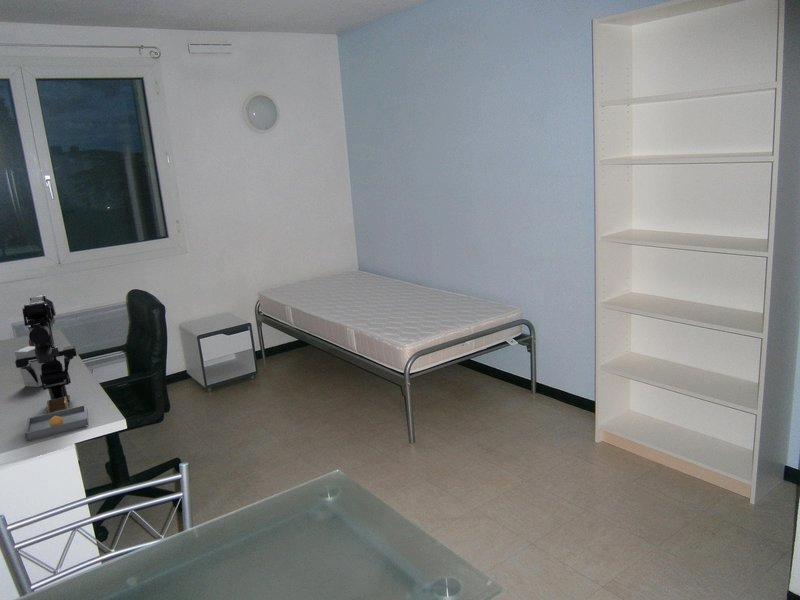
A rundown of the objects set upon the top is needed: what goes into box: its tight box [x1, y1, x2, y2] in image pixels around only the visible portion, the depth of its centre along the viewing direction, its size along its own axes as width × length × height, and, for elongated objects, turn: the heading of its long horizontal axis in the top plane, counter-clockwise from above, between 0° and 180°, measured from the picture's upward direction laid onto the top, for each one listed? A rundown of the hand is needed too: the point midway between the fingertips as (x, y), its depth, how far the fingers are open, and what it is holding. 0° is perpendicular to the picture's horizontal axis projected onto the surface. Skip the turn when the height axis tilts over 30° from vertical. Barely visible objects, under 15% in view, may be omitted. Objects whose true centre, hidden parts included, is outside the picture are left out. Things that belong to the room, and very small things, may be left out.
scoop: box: [46, 397, 70, 414], centre depth 218 cm, size 7×6×4 cm
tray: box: [24, 404, 89, 441], centre depth 208 cm, size 15×18×2 cm
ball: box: [49, 416, 63, 427], centre depth 203 cm, size 4×4×4 cm
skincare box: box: [13, 345, 43, 388], centre depth 251 cm, size 8×7×16 cm
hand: (52, 379), depth 219 cm, fingers open, 9 cm apart
